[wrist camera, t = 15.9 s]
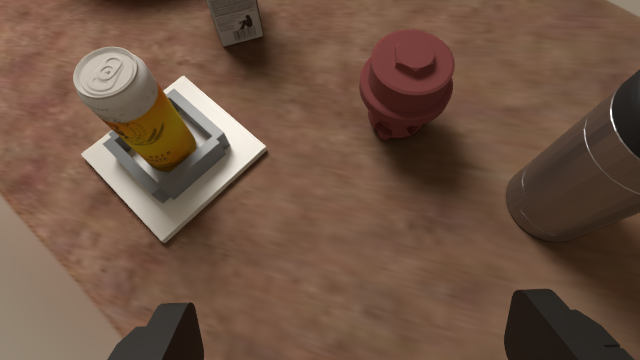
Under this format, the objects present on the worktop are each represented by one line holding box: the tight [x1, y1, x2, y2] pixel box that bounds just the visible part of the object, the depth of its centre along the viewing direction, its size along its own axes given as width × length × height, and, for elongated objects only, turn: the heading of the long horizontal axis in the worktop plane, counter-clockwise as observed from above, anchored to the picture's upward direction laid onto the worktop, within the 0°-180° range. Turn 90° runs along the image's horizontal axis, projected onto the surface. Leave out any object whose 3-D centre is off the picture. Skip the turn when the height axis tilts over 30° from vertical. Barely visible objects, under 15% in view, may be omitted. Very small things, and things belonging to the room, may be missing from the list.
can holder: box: [81, 76, 267, 243], centre depth 44 cm, size 16×16×4 cm
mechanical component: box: [359, 30, 455, 140], centre depth 42 cm, size 12×10×10 cm
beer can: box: [73, 47, 196, 172], centre depth 38 cm, size 6×6×15 cm
